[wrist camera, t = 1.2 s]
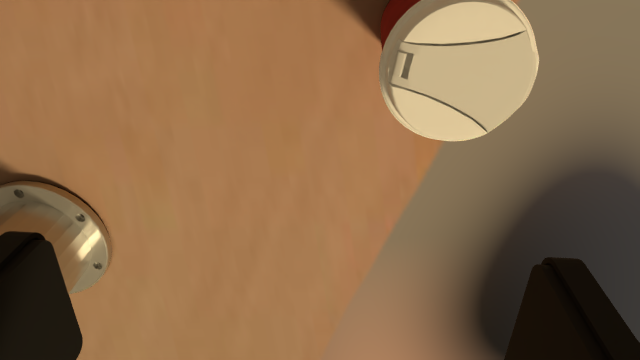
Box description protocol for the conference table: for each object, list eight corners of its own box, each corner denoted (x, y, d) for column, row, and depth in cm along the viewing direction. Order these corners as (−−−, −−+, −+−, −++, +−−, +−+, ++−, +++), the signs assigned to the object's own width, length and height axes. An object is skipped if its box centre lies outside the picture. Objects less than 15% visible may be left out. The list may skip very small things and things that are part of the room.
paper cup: (356, 65, 36) (365, 136, 24) (379, -43, 32) (404, -26, 20) (454, 83, 36) (513, 162, 24) (488, -22, 33) (578, 7, 20)
